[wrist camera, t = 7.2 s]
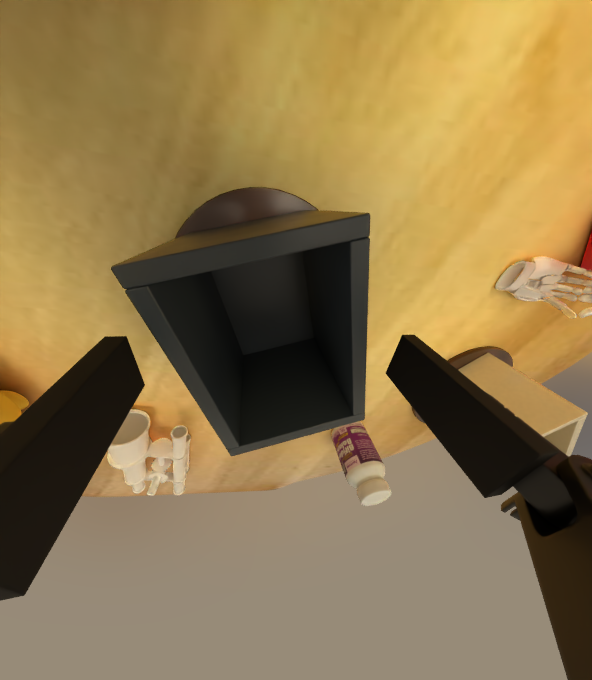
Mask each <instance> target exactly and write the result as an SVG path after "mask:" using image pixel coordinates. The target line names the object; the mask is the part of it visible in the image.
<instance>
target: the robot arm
mask: <svg viewBox="0 0 592 680" xmlns="http://www.w3.org/2000/svg"><path fill="white" fill-rule="evenodd" d="M386 374H387V376H388V377H389V378H390V379H391V381H392V382H393V383H394V384H395V386H396V387H397V388H398V389H399V391H400V392H401V393H402V395H403V396H404V397H405V398H406V400H407V401H408V402H409V403H410V405H411V406H412V407H413V408H414V410H415V411H416V412H417V413H418V415H419V416H420V417H421V418H422V420H423V421H424V422H425V423H426V425H427V426H428V427H429V428H430V430H431V431H432V432H433V434H434V435H435V436H436V437H437V439H438V440H439V441H440V442H441V443H442V445H443V446H444V447H445V449H446V450H447V451H448V452H449V453H450V455H451V456H452V457H453V459H454V460H455V461H456V462H457V464H458V465H459V466H460V467H461V469H462V470H463V471H464V473H465V474H466V475H467V476H468V477H469V479H470V480H471V481H472V482H473V484H474V485H475V486H476V488H477V489H478V490H479V491H480V492H481V494H482V495H483V496H484V498H487V497H492V496H496V495H501V494H503V493H504V492H505V491H507V490H508V489H510V488H511V487H512V486H513V487H514V488H515V489H516V490H517V491H518V493H516V494H515V495H513V496H512V497H510V498H509V499H508V500H506V501H505V502H503V503H502V505H501V511H503V512H507V511H508V510H510V509H511V508H513V507H514V506H516V507H517V508H516V509H515V510H513V511H512V512H511V514H510V515H511V516H513V517H514V518H516V519H518V520H520V521H521V524H522V528H523V531H524V534H525V538H526V541H527V544H528V548H529V551H530V554H531V558H532V561H533V565H534V568H535V571H536V575H537V578H538V581H539V585H540V588H541V591H542V595H543V598H544V601H545V605H546V608H547V611H548V615H549V618H550V621H551V625H552V628H553V632H554V635H555V638H556V642H557V645H558V648H559V652H560V655H561V659H562V662H563V665H564V668H565V672H566V675H567V679H568V680H592V460H591V459H589V458H586V457H583V456H580V455H571V456H567V455H566V454H564V453H563V452H562V451H560V450H559V449H558V448H557V447H555V446H554V445H553V444H552V443H550V442H549V441H548V440H547V439H545V438H544V437H543V436H542V435H540V434H539V433H538V432H537V431H535V430H534V429H533V428H532V427H530V426H529V425H528V424H527V423H525V422H524V421H523V420H522V419H520V418H519V417H516V416H515V414H514V413H513V412H512V411H510V410H509V409H508V408H505V407H504V405H503V404H501V403H500V402H499V401H498V400H496V399H495V398H494V397H493V396H491V395H490V394H488V393H486V392H485V391H483V390H482V389H481V388H480V387H478V386H477V385H476V384H475V383H473V382H472V381H471V380H470V379H468V378H467V377H466V376H465V375H464V374H462V373H461V372H460V371H459V370H457V369H456V368H455V367H454V366H452V365H451V364H450V363H449V362H447V361H446V360H445V359H444V358H442V357H441V356H440V355H439V354H437V353H436V352H435V351H434V350H433V349H431V348H430V347H429V346H428V345H426V344H425V343H424V342H423V341H421V340H420V339H419V338H418V337H416V336H415V335H402V337H401V339H400V341H399V344H398V346H397V348H396V351H395V353H394V355H393V357H392V360H391V362H390V364H389V367H388V369H387V371H386ZM144 385H145V384H144V382H143V379H142V376H141V374H140V371H139V368H138V366H137V363H136V360H135V358H134V355H133V352H132V350H131V347H130V344H129V342H128V339H127V336H115V337H104V338H103V339H102V340H101V341H100V342H99V343H98V344H96V345H95V346H94V347H93V348H92V349H91V350H90V351H89V352H88V353H87V354H86V355H85V356H84V357H83V358H81V359H80V360H79V361H78V362H77V363H76V364H75V365H74V366H73V367H72V368H71V369H70V370H69V371H68V372H66V373H65V374H64V375H63V376H62V377H61V378H60V379H59V380H58V381H57V382H56V383H55V384H54V385H53V386H51V387H50V388H49V389H48V390H47V391H46V392H45V393H44V394H43V395H42V396H41V397H40V398H39V399H37V400H36V401H35V402H34V403H33V404H32V405H31V406H30V407H29V408H28V409H27V410H26V411H25V412H24V413H22V414H21V415H20V416H19V417H18V418H17V419H16V420H15V421H12V422H4V423H2V424H0V600H5V599H10V598H14V597H19V596H24V595H25V594H26V592H27V590H28V588H29V587H30V585H31V583H32V581H33V579H34V578H35V576H36V574H37V573H38V571H39V569H40V567H41V566H42V564H43V562H44V560H45V558H46V557H47V555H48V553H49V552H50V550H51V548H52V546H53V544H54V543H55V541H56V539H57V537H58V536H59V534H60V532H61V531H62V529H63V527H64V525H65V523H66V522H67V520H68V518H69V517H70V514H71V513H72V511H73V510H74V508H75V506H76V504H77V503H78V501H79V499H80V497H81V496H82V494H83V492H84V490H85V489H86V487H87V485H88V483H89V482H90V480H91V478H92V476H93V475H94V473H95V471H96V469H97V468H98V466H99V464H100V462H101V461H102V459H103V457H104V455H105V454H106V452H107V450H108V448H109V447H110V445H111V443H112V441H113V440H114V438H115V436H116V434H117V433H118V431H119V429H120V427H121V426H122V424H123V422H124V420H125V419H126V417H127V415H128V413H129V412H130V410H131V408H132V406H133V405H134V403H135V401H136V399H137V398H138V396H139V394H140V392H141V391H142V389H143V387H144Z"/></svg>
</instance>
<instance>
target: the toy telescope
mask: <svg viewBox="0 0 592 680" xmlns="http://www.w3.org/2000/svg"><path fill="white" fill-rule="evenodd" d="M149 428H150V417H149V415H148V414H147V413H146V412H144V411H141V410H138V409H131V410H130V412H129V413H128V415H127V417H126V419H125V420H124V422H123V424H122V426H121V427H120V429H119V431H118V433H117V434H116V436H115V438H114V440H113V441H112V443H111V445H110V447H109V448H108V451H109V452H108V455H107V460H108V462H109V464H110V465H111V466H112V467H113V468H115V469H120V470H123V473H124V481H125V483H126V484H127V485H129V486H132V488H133V489H132V491H133V493H135V494H138V493H141V492H142V491H143V490H144V489H145V483H144V480H150V481H152V483H151V485H150V487H149V489H148V492H147V495H149V496H153V495H155V493H156V490H157V488H158V486H159V483H160V482H161V483H164V482H165V481H170V482H173V484H174V488H173V494H174V495H176V496H179V495H181V494H182V493H183V492H184V491H185V479H186V476H187V475H186V473H187V472H188V471H189V463H190V460H189V448H190V441H191V435H190V434H188V428H187V427H186V426H183V425H179V426H176V427H174V428H173V429H172V431H171V438H172V439H173V448H172V442H171V440H169V439H167V438H160V439H157V440H155V441H154V442H153V443H152V440H151V438H150V437H149V435H148V430H149ZM147 457H154V458H156V459H155V460H153V461H154V462H153V463H151V464H152V466H151V468H153V469H152V471H148V469H147V467H146V463H145V459H146V458H147ZM172 460H173V472H165V470H167V468H168V467H170V464H172V462H171V461H172Z"/></svg>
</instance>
